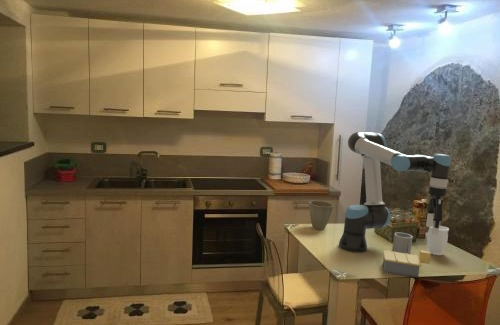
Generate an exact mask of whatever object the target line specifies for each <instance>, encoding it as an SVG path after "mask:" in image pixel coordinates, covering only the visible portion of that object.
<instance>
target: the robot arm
mask: <svg viewBox="0 0 500 325" xmlns="http://www.w3.org/2000/svg"><path fill="white" fill-rule="evenodd" d="M347 145H348V148H349V150H350V151H352V152H353V153H356V154H358V155H361V158H362V159H363V161H364V162H363V163H364V178H365V179H364V180H365V183H364V184H365V197H366V198H365V201H366V202H364V203H363V204H351V205H349V206H347V207H346V210H345V214H344V216H345V217H344V225H343V233H342V236H341V237H340V239H339V242H338V247H339V248H341V249H342V250H345V251H347V252H353V253H364V252H367V250H368V244H367V239H366V238H367V237H366V231H367V230H369V229H370V230H371V229H382V228H385V227H387V226H388V224H389V223H390V222H391V221H390V220H391V218H392V217H391V212H390V210H389V208H388V207H386V203H385V202H384V201H383V193H382V192H383V191H382V173H381V171H382V170H381V162H382V163H384V164H386V165H388V166H391V167H392V169H394V171H398V172H427V173H430V179H429V185H430V186H429V188H428V194H429V195H430V198H429V201H428V205H427V209H426V211H427V217H426V222H425V223H426V224H425V226H426V227H428V228H429V227H432V225H433V229H432V234H435V235H438V234H439V227H440V226H441V222H442V221H443V202H444V200H443V199H442V197H445V196H447V187H448V184H449V182H450V181H449V174H450V170H451V164H452V162H451V161H452V160H451V159H452V157H451V156H450V155H449V154H443V153H434V154H433V156H428V155H424V154H414V155H413V154H412V155H411V154H409V155H407V154H404V153H401V152H399V151H396V150H394V149H391V148H388V147H387V141H386V138H385V137H384V135H383V134H381V133H378V132H375V131H374V132H371V131H370V132H368V131H365V132H364V131H356V132H353V133H352V134H351V135H349V137H348V140H347Z"/></svg>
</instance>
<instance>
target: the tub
mask: <svg viewBox="0 0 500 325" xmlns="http://www.w3.org/2000/svg"><path fill="white" fill-rule="evenodd" d="M382 266H383V271H384V274H385V273H386V274H391V275H396V276H397V275H398V276H403V277H409V278H414V279H415V278H416V279H418V278H419V273H420V268H421V266H415V265H408V264H402V263H396V262H389V261H385V259H384V258H383V260H382Z"/></svg>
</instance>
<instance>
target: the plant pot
mask: <svg viewBox="0 0 500 325" xmlns="http://www.w3.org/2000/svg"><path fill="white" fill-rule="evenodd" d="M308 204H309V206H308V208H309V216H310V222H311V226H312V229H314V230H317V231H323V230H325V228H326V227H327V225H328V222H329V220H330V217H331V216H332V215H331V214H332V211H333V208H334V204H332V202H328V201H323V200H310V201H309V203H308Z"/></svg>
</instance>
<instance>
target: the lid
mask: <svg viewBox="0 0 500 325" xmlns="http://www.w3.org/2000/svg"><path fill="white" fill-rule="evenodd" d="M382 253H383V259H385V261H389V262H396V263H402V264H408V265H415V266H420V267H422V264H427V265H430V262H431V255H432V254H431V253H430V252H428V251H426V250H419V257H418V255H416V254H411V253H410V254H407V253H399V252H395V251H394V252H392V250H391V251H390V250H383V251H382Z"/></svg>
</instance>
